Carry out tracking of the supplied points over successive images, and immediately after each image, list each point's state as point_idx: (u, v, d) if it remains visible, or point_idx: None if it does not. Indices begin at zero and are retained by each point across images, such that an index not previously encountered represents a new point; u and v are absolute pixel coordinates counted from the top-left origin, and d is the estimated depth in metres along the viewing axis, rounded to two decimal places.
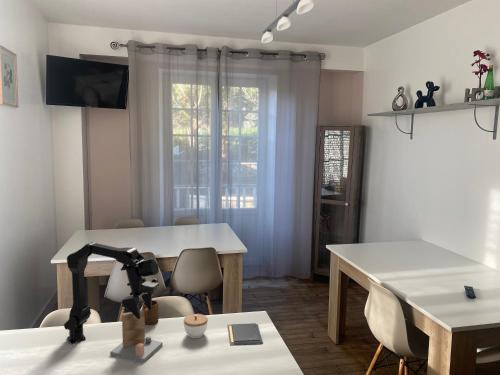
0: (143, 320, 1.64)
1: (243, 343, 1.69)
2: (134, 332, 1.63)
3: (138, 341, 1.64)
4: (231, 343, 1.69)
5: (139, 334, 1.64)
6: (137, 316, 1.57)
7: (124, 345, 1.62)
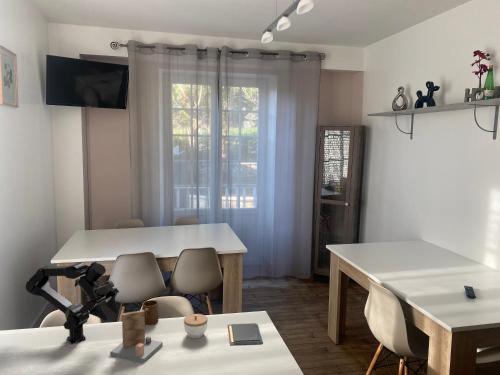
0: (143, 320, 1.64)
1: (243, 343, 1.69)
2: (134, 332, 1.63)
3: (138, 341, 1.64)
4: (231, 343, 1.69)
5: (139, 334, 1.64)
6: (104, 318, 1.61)
7: (124, 345, 1.62)
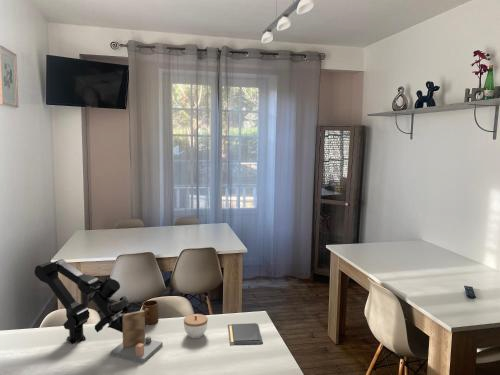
0: (143, 320, 1.64)
1: (243, 343, 1.69)
2: (134, 332, 1.63)
3: (138, 341, 1.64)
4: (231, 343, 1.69)
5: (140, 334, 1.64)
6: None
7: (125, 346, 1.61)
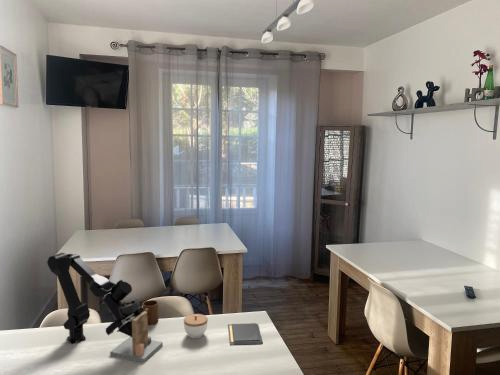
0: (146, 321, 1.64)
1: (243, 343, 1.69)
2: (142, 335, 1.60)
3: (144, 343, 1.62)
4: (231, 343, 1.69)
5: (144, 335, 1.63)
6: None
7: None
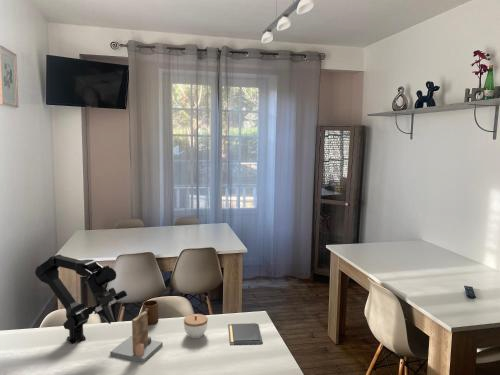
0: (146, 321, 1.64)
1: (243, 343, 1.69)
2: (142, 335, 1.60)
3: (144, 343, 1.62)
4: (231, 343, 1.70)
5: (145, 335, 1.63)
6: (107, 321, 1.62)
7: None
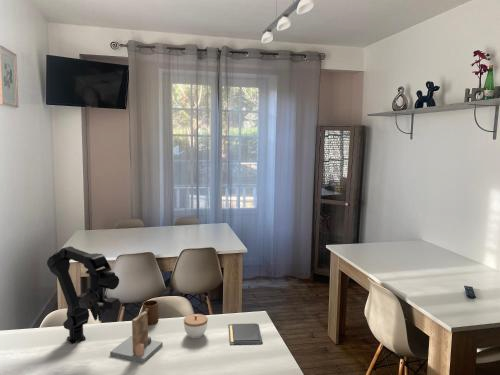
0: (146, 321, 1.64)
1: (243, 343, 1.69)
2: (142, 335, 1.60)
3: (144, 343, 1.62)
4: (231, 343, 1.70)
5: (145, 335, 1.63)
6: None
7: None
